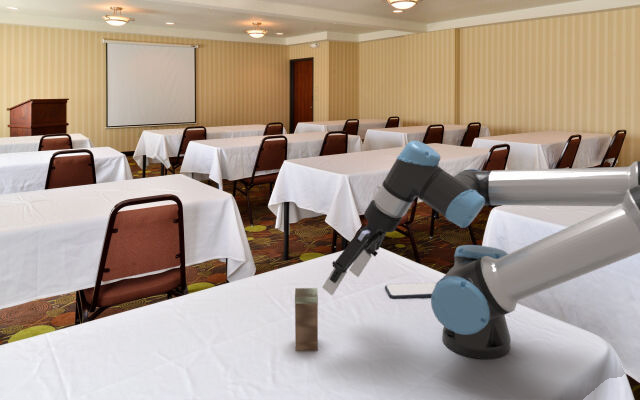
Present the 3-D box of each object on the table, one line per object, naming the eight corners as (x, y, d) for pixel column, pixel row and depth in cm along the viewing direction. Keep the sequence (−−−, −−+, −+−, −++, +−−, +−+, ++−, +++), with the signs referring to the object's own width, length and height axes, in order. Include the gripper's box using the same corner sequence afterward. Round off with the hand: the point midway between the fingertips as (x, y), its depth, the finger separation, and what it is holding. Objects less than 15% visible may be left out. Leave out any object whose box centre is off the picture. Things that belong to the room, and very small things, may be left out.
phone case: (390, 301, 140) (445, 298, 141) (390, 296, 140) (445, 293, 141) (384, 289, 149) (436, 287, 150) (384, 284, 149) (436, 282, 150)
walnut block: (317, 339, 117) (317, 288, 114) (317, 350, 112) (317, 297, 109) (295, 340, 117) (295, 288, 114) (295, 351, 112) (294, 297, 109)
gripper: (394, 190, 118) (352, 257, 126) (348, 208, 96) (301, 288, 105) (420, 208, 115) (375, 276, 124) (379, 231, 94) (328, 311, 102)
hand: (341, 281), depth 114 cm, fingers open, 13 cm apart
